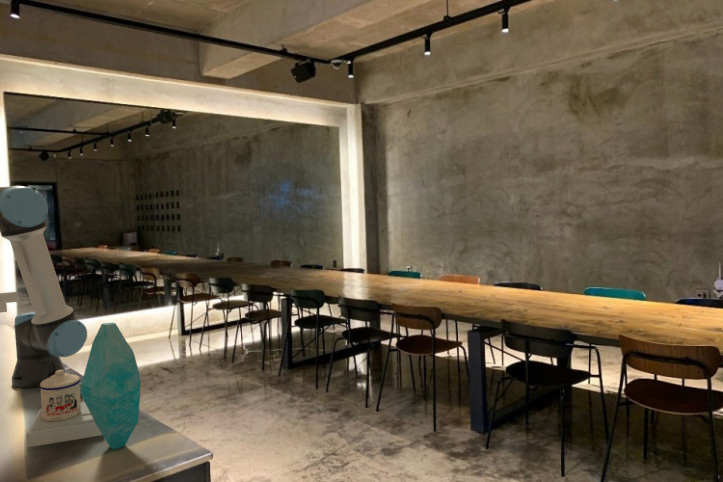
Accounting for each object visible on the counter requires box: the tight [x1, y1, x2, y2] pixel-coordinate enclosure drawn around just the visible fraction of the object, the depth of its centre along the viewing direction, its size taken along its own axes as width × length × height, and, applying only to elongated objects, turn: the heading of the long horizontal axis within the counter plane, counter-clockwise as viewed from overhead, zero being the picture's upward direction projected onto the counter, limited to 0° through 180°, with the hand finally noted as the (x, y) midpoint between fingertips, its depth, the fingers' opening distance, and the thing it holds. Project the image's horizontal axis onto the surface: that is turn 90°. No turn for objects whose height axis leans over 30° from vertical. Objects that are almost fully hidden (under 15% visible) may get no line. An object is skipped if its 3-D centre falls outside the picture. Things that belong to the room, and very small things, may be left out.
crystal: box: [80, 322, 142, 450], centre depth 122 cm, size 12×14×30 cm
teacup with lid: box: [39, 370, 84, 421], centre depth 133 cm, size 12×9×12 cm
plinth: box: [25, 402, 103, 448], centre depth 134 cm, size 16×16×4 cm
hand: (12, 301), depth 135 cm, fingers open, 13 cm apart
